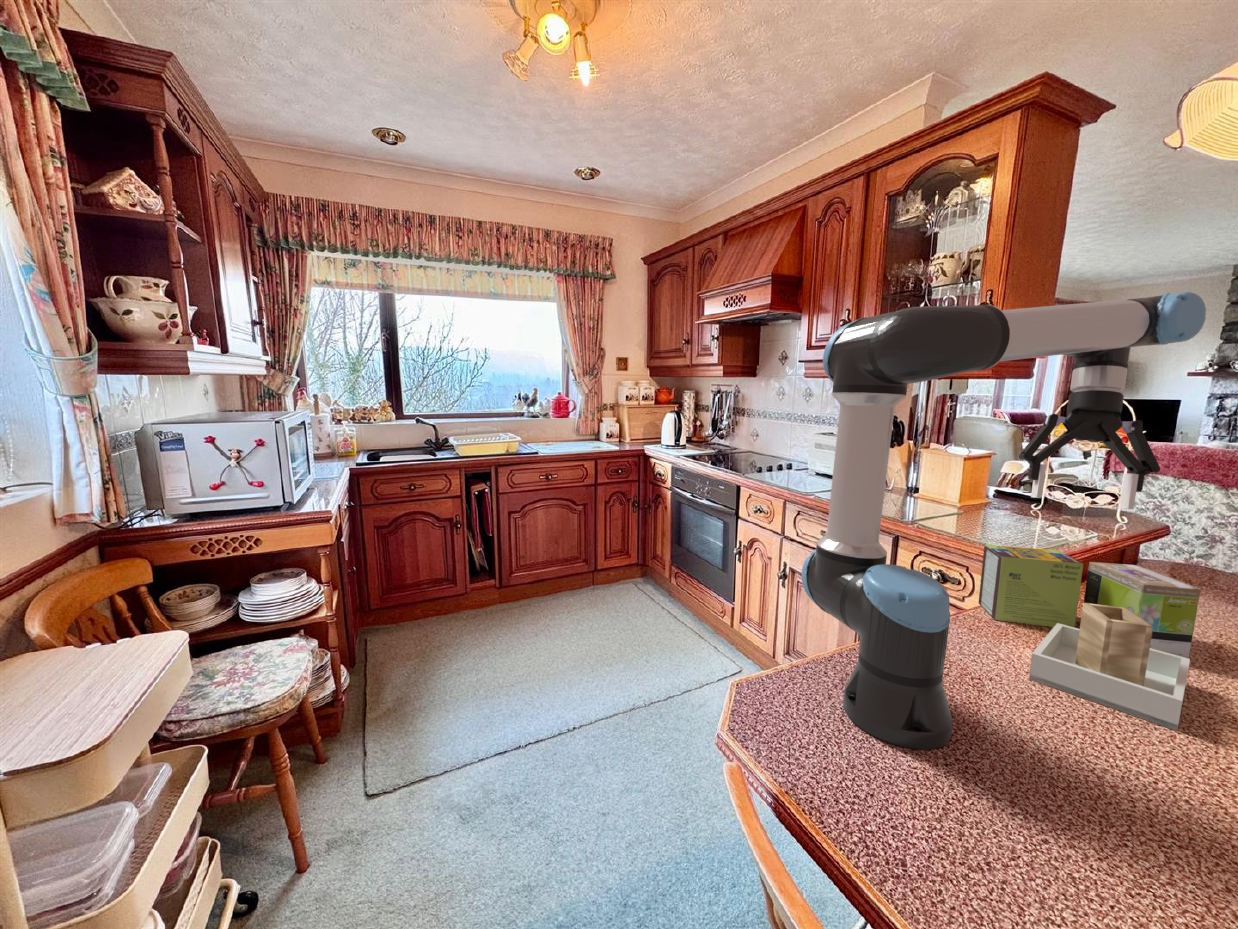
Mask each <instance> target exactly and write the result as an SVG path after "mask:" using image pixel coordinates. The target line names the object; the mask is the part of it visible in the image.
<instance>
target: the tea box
mask: <svg viewBox="0 0 1238 929" xmlns="http://www.w3.org/2000/svg"><path fill="white" fill-rule="evenodd" d="M1087 570H1088V571H1087V576H1086V584H1085V590H1084V597H1083V603H1090V604H1098V605H1106V606H1115V607H1123V608H1126V609H1128V610H1129V611H1131V612H1132V613H1134V614H1135V615H1137V616H1138V617H1140V618H1141V619H1143V620H1144V621H1146V622H1147V623H1149V624H1150V625H1152V626H1153V629H1152V636H1151V642H1150V648H1151V649H1155V650H1159V651H1162V652H1166V653H1170V654H1174V655H1177V656H1181V657H1185V658H1188V659H1189V656H1190V652H1191V647H1192V643H1193V636H1194V631H1195V626H1196V625H1195V624H1196V619H1197V614H1198V606H1199V602H1200V595H1201V588H1200V587H1197V586H1195V585H1192V584H1189V583H1187V582H1183V581H1181V580H1179V579H1175V578H1173V577H1171V576H1168V575H1165V574H1163V573H1160V572H1157V571H1155V570H1151V569H1149V568H1145V567H1143V566H1141V565H1138V564H1137V565H1135V564H1124V563H1123V564H1122V563H1112V562H1111V563H1110V562H1096V561H1090V562H1089V563H1088V568H1087Z"/></svg>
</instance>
